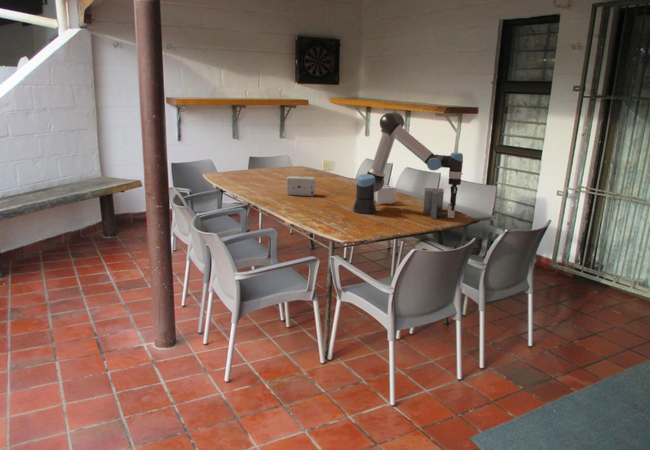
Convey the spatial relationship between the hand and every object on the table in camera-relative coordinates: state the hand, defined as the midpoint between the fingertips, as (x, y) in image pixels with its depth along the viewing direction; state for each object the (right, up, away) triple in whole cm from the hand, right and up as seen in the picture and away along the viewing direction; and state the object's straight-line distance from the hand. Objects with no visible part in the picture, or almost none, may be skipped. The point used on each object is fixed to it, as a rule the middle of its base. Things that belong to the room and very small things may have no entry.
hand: (451, 214), depth 332 cm
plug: (-6, -1, +1) cm, 6 cm away
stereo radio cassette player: (-98, +15, +57) cm, 115 cm away
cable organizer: (-40, +9, +38) cm, 56 cm away
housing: (-10, +1, +9) cm, 14 cm away
